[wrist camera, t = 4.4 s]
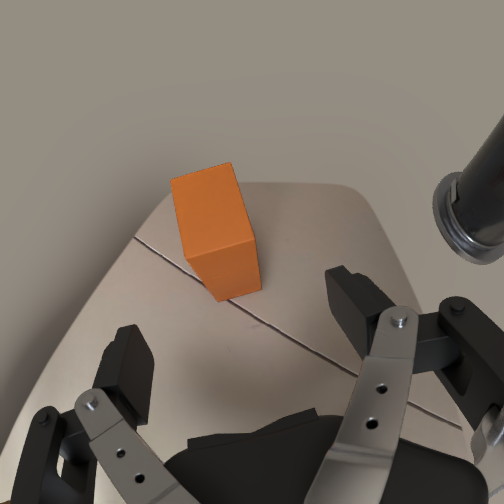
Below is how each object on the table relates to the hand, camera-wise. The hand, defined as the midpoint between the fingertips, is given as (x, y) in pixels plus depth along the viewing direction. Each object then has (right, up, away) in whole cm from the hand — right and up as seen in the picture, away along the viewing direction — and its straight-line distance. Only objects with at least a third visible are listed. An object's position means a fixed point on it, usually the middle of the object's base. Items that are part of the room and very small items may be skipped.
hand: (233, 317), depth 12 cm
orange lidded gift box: (-1, +1, +16) cm, 16 cm away
